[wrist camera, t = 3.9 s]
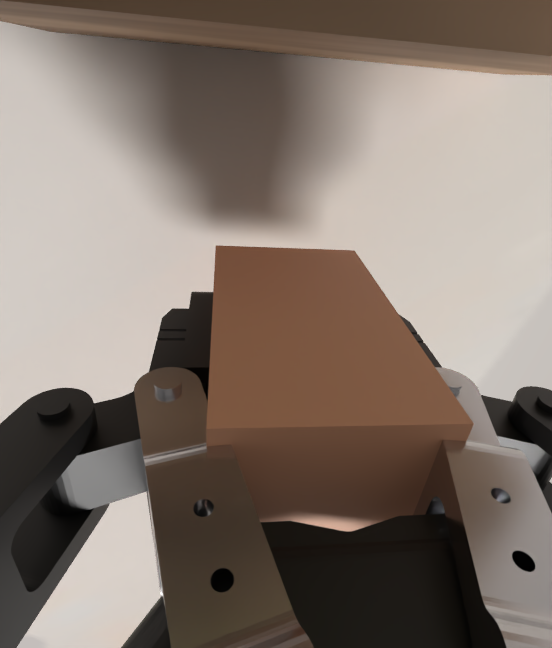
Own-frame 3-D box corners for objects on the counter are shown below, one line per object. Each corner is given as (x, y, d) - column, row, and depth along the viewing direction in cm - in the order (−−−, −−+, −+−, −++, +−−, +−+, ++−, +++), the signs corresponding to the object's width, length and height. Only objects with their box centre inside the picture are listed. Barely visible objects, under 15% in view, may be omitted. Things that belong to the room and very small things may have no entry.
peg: (215, 245, 12) (206, 428, 6) (354, 250, 12) (474, 423, 6) (215, 361, 14) (207, 582, 8) (334, 361, 14) (410, 570, 8)
